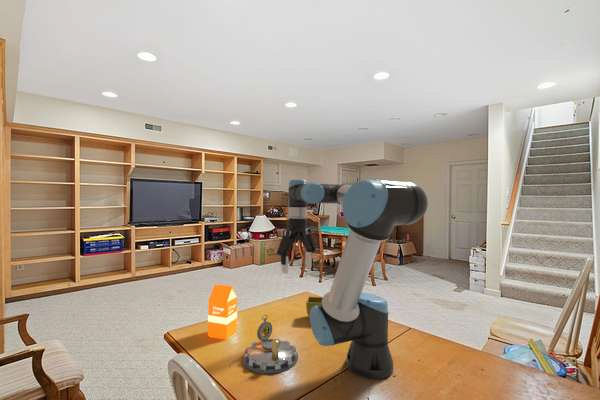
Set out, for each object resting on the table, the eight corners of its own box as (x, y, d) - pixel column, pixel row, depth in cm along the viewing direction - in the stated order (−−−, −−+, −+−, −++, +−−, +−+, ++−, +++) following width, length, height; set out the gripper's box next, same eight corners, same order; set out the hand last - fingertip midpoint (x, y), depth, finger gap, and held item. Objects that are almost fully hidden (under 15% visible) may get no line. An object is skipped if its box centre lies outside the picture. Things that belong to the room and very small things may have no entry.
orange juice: (226, 340, 112) (227, 288, 113) (207, 336, 115) (208, 286, 115) (237, 331, 120) (237, 283, 120) (219, 328, 123) (219, 281, 123)
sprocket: (287, 339, 111) (287, 320, 111) (304, 364, 94) (304, 340, 94) (240, 347, 105) (240, 326, 105) (249, 375, 88) (249, 350, 88)
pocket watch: (277, 351, 99) (278, 322, 99) (254, 349, 100) (254, 320, 100) (283, 340, 107) (283, 313, 107) (261, 338, 108) (261, 312, 108)
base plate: (309, 357, 100) (309, 356, 100) (266, 382, 86) (266, 380, 86) (273, 339, 113) (273, 338, 113) (231, 358, 99) (231, 356, 99)
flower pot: (307, 314, 139) (308, 296, 139) (325, 315, 138) (326, 297, 138) (305, 322, 130) (305, 302, 130) (325, 323, 129) (325, 303, 129)
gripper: (311, 216, 128) (310, 264, 128) (268, 218, 110) (267, 273, 110) (324, 217, 123) (323, 266, 123) (281, 219, 105) (280, 277, 105)
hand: (297, 270), depth 116 cm, fingers open, 13 cm apart
